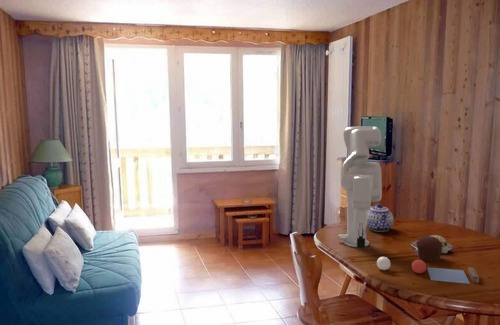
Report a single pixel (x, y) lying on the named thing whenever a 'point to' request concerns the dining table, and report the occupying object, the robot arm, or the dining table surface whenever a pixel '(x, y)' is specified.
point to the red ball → (418, 266)
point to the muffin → (429, 248)
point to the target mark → (447, 275)
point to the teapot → (379, 218)
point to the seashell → (444, 243)
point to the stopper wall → (473, 275)
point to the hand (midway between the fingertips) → (360, 246)
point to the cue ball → (383, 263)
